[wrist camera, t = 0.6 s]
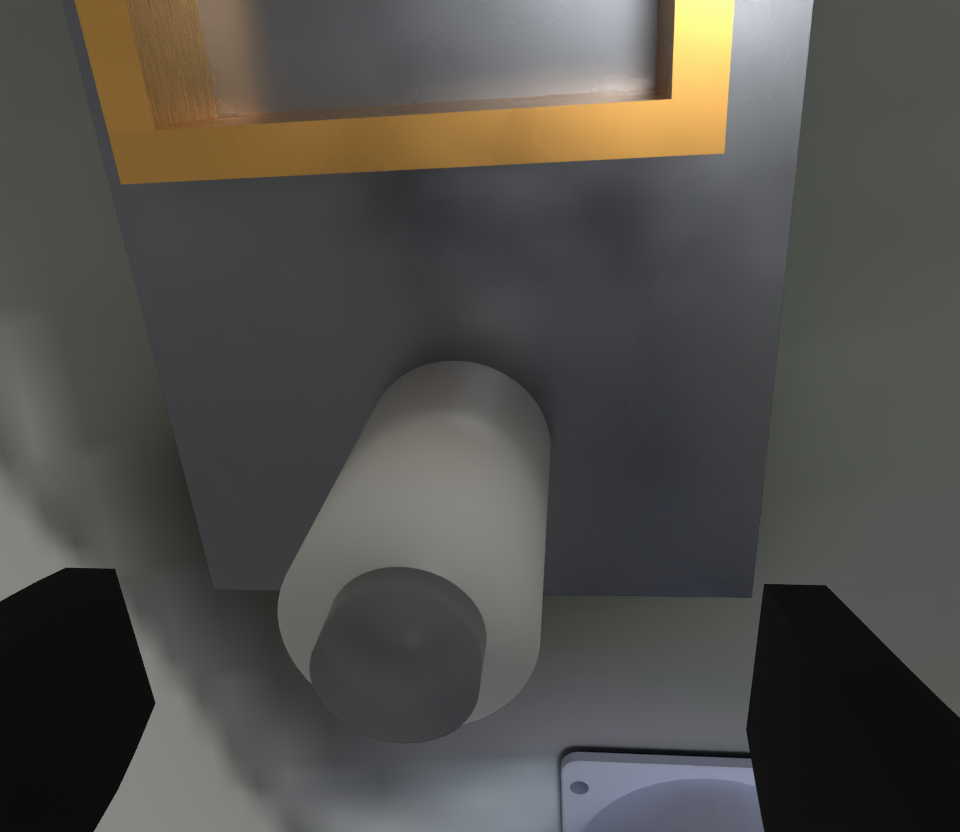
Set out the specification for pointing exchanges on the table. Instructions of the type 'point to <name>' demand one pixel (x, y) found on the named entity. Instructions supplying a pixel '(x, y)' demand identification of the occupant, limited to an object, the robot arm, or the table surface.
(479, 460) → the canister
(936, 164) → the table surface
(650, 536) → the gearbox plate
